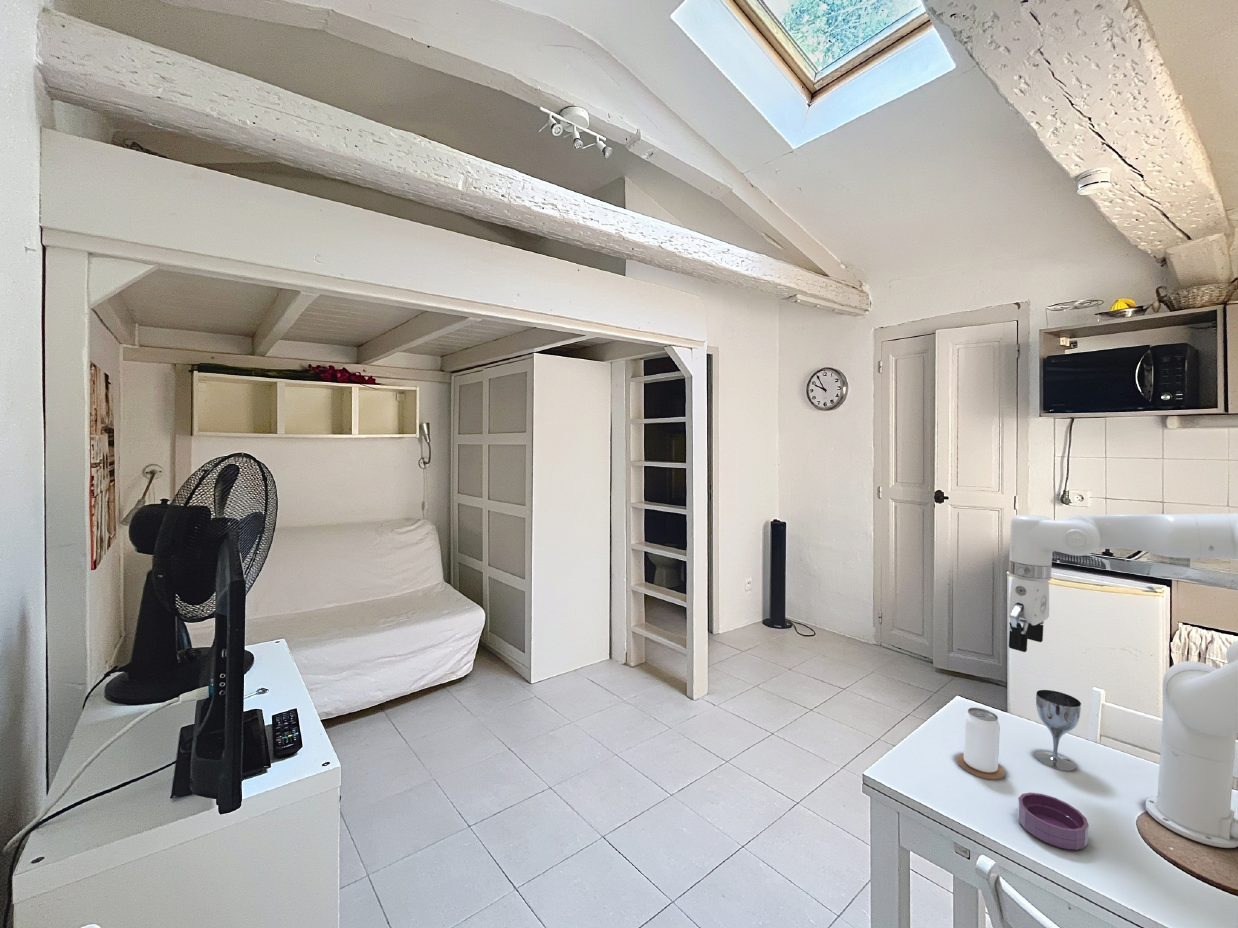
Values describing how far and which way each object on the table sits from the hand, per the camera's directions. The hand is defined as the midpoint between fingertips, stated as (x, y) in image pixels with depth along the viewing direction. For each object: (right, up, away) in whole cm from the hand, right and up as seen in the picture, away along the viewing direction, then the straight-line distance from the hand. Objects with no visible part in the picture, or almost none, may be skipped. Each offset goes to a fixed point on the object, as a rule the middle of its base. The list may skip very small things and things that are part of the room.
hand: (1025, 644), depth 118 cm
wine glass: (+9, -28, +3) cm, 30 cm away
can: (-10, -28, +1) cm, 30 cm away
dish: (-9, -29, -18) cm, 36 cm away
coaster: (-10, -28, +1) cm, 30 cm away
